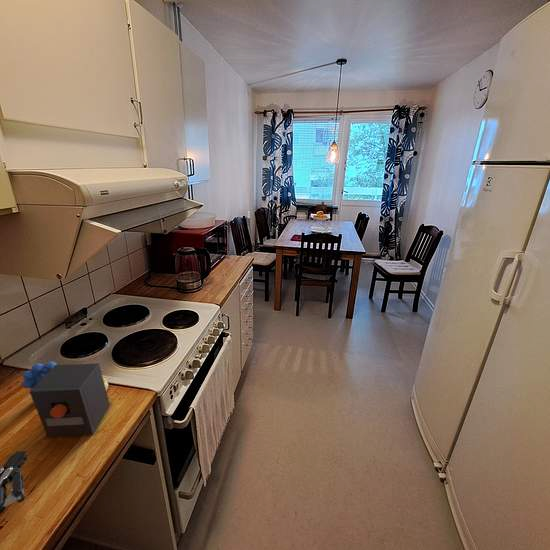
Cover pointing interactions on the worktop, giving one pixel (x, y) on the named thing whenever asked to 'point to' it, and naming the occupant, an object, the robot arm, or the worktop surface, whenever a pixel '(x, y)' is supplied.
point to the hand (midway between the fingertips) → (22, 453)
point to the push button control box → (71, 399)
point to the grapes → (36, 374)
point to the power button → (58, 411)
